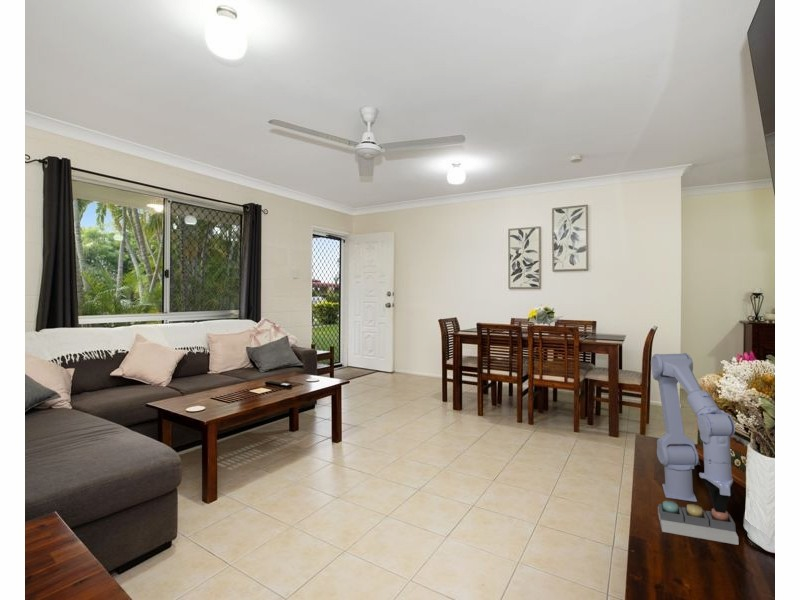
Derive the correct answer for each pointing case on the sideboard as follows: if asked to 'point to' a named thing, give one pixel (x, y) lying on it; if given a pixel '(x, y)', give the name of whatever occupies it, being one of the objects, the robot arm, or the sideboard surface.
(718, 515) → the brick button
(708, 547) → the sideboard surface
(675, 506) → the teal button
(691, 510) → the ochre button
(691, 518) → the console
